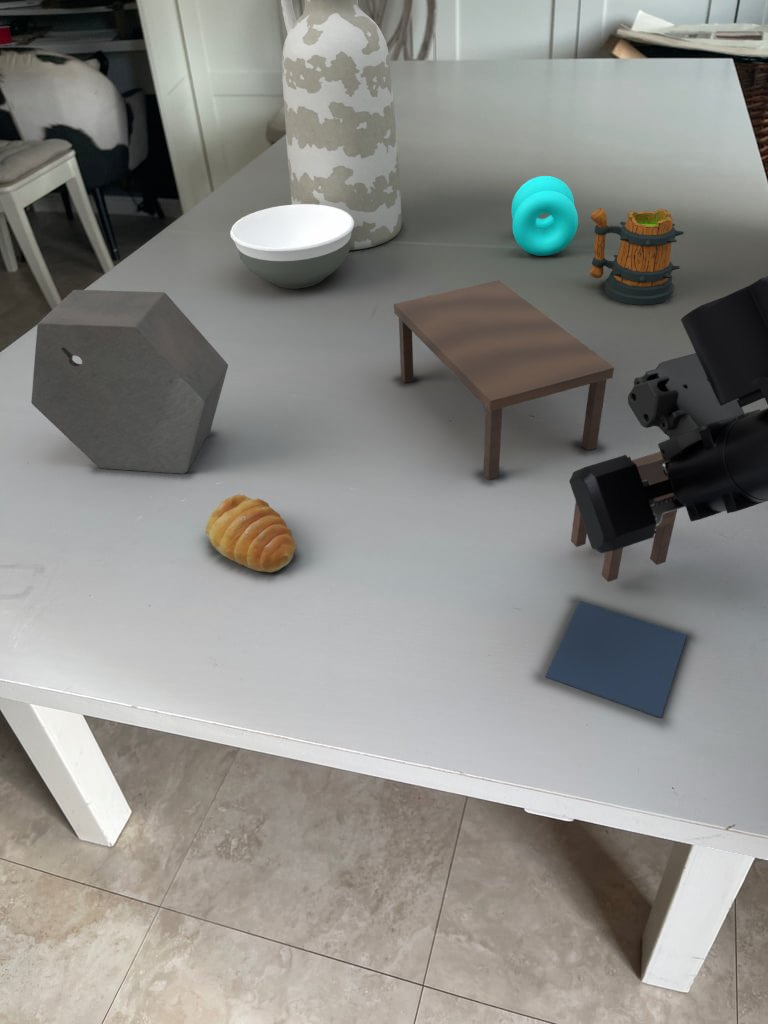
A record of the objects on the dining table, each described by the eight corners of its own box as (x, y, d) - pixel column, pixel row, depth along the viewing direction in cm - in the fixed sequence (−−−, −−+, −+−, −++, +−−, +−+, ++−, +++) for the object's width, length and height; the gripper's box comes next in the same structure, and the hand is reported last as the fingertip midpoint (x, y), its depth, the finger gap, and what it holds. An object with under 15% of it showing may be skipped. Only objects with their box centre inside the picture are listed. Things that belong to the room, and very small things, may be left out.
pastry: (315, 552, 77) (311, 521, 74) (259, 589, 73) (253, 559, 71) (255, 510, 82) (249, 480, 79) (200, 543, 78) (192, 513, 76)
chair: (665, 562, 71) (691, 450, 64) (607, 582, 70) (626, 470, 62) (625, 523, 76) (644, 414, 68) (570, 541, 74) (583, 431, 67)
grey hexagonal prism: (261, 401, 89) (126, 247, 80) (240, 441, 83) (92, 279, 74) (160, 462, 97) (26, 328, 88) (134, 502, 91) (-12, 363, 82)
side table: (602, 449, 87) (614, 367, 81) (486, 483, 84) (490, 400, 77) (496, 353, 105) (499, 279, 98) (396, 378, 101) (393, 303, 95)
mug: (673, 277, 120) (688, 198, 112) (676, 307, 112) (692, 225, 105) (584, 273, 122) (592, 195, 115) (580, 302, 115) (589, 221, 107)
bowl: (282, 247, 136) (275, 197, 131) (379, 263, 129) (376, 211, 124) (214, 291, 124) (204, 238, 119) (317, 311, 116) (311, 256, 111)
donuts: (570, 234, 134) (576, 172, 128) (575, 258, 127) (582, 193, 120) (509, 235, 135) (512, 174, 129) (511, 259, 128) (514, 195, 121)
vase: (424, 227, 140) (419, -37, 116) (348, 261, 130) (326, -20, 106) (343, 203, 151) (323, -42, 127) (267, 233, 141) (230, -27, 117)
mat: (686, 636, 66) (686, 634, 66) (660, 718, 60) (661, 716, 60) (579, 602, 70) (580, 601, 70) (545, 677, 64) (545, 675, 64)
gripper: (832, 311, 55) (696, 380, 70) (599, 373, 51) (507, 433, 66) (888, 465, 55) (738, 501, 70) (657, 542, 50) (550, 564, 65)
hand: (636, 496), depth 67 cm, fingers closed on chair, 6 cm apart
